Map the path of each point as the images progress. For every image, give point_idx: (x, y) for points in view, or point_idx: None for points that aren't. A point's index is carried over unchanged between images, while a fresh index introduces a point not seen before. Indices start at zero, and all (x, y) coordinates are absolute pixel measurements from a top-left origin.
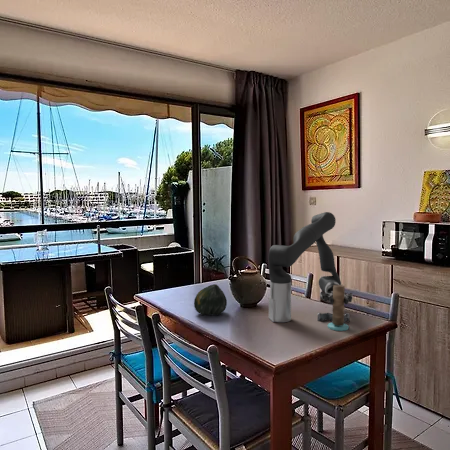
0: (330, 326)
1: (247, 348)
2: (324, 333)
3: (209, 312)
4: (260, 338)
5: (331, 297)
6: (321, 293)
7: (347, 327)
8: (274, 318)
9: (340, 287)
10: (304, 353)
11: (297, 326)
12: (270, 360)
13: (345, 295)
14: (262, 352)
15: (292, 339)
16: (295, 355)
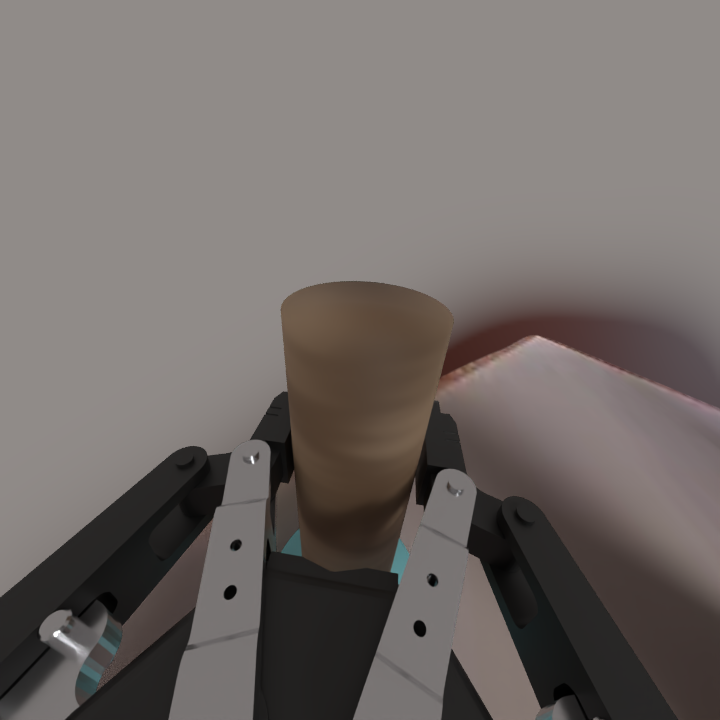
0: (402, 559)
1: (654, 388)
2: None
3: None
4: (685, 445)
5: (439, 431)
6: (661, 701)
7: (296, 535)
8: None
9: (365, 282)
10: (490, 361)
11: (632, 618)
12: (554, 345)
13: (228, 493)
14: (597, 370)
15: (560, 433)
16: (509, 356)
